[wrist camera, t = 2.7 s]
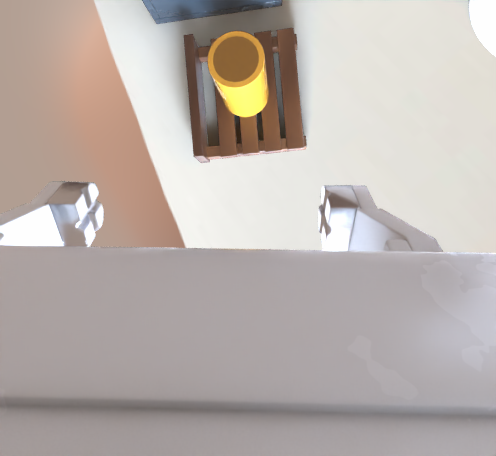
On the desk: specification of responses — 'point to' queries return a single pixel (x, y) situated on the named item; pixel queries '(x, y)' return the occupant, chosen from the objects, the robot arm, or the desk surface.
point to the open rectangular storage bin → (201, 8)
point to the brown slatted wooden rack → (248, 125)
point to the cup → (239, 72)
